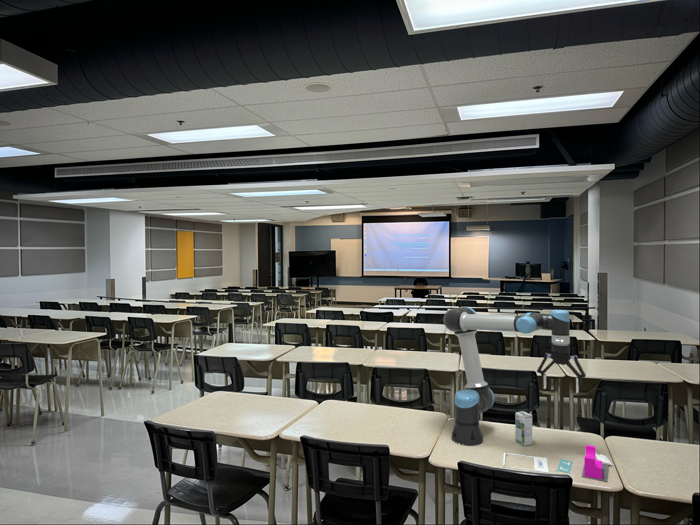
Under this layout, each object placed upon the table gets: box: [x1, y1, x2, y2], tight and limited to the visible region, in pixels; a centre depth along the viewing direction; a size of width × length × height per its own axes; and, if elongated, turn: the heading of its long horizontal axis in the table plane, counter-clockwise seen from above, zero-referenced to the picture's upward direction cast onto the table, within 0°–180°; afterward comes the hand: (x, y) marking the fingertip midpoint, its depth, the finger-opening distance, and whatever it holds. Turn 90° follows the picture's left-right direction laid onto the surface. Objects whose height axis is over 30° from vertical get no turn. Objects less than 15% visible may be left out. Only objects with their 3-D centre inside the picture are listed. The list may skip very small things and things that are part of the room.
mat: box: [581, 464, 610, 483], centre depth 193 cm, size 9×17×1 cm, turn 149°
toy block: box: [583, 444, 602, 479], centre depth 193 cm, size 15×6×8 cm, turn 151°
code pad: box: [556, 458, 574, 474], centre depth 198 cm, size 5×13×1 cm, turn 149°
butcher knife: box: [596, 452, 613, 466], centre depth 206 cm, size 5×15×1 cm, turn 164°
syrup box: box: [514, 411, 533, 447], centre depth 223 cm, size 6×6×14 cm
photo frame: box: [502, 452, 549, 474], centre depth 202 cm, size 15×1×18 cm
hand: (560, 390), depth 212 cm, fingers open, 13 cm apart
